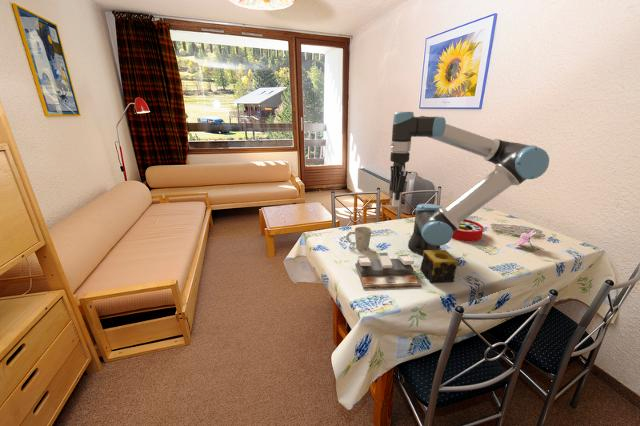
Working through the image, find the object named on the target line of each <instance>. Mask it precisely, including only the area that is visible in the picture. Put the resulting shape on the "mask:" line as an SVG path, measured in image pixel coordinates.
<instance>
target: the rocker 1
mask: <svg viewBox="0 0 640 426" xmlns="http://www.w3.org/2000/svg"><path fill="white" fill-rule="evenodd" d="M357 260H358V261H359V263H360V265H361V266H371V261H370V260H371V259H369V257H368V256H367V255H366V256H365V255H364V256H363V255H362V256H361V255H360V256H357Z"/></svg>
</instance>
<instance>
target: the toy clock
mask: <svg viewBox="0 0 640 426" xmlns="http://www.w3.org/2000/svg"><path fill="white" fill-rule="evenodd" d="M483 232H484V226H483V225H482V224H480V223H478V222H477V221H473V220H470V219H468V218H466V219H465V220H463V221H462V222H461V223H460V224H459V229H458V230H456V231H455V232H454V233H453V235H452V239H451V240H456V241H460V242H466V243H467V242H469V243H470V242H477V241H480V240H481V239H482V237H483Z"/></svg>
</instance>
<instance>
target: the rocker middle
mask: <svg viewBox="0 0 640 426" xmlns="http://www.w3.org/2000/svg"><path fill="white" fill-rule="evenodd" d="M377 257H378V259H379V260H380V263H381V266H382V268H392V263H391V260H390V259H391V258H390V256H389V254H388V252H378V253H377Z"/></svg>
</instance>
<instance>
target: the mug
mask: <svg viewBox="0 0 640 426" xmlns="http://www.w3.org/2000/svg"><path fill="white" fill-rule="evenodd" d="M372 231H373V230H372V228H370V227H367V226H358V227H356V228H355V229H354V231H349V232H348V233H347V234H346V236H345V239H346V241H347V242H348V243H349V244H351V245H355V246H356V249H357V250H359V251H363V252H364V251H367V250H368V249H369V246H370V242H371V241H370V240H371V238H372V237H371V236H372ZM350 235H354V237H355V241H354V242H353V241H351V240H350V238H349V237H350Z"/></svg>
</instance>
